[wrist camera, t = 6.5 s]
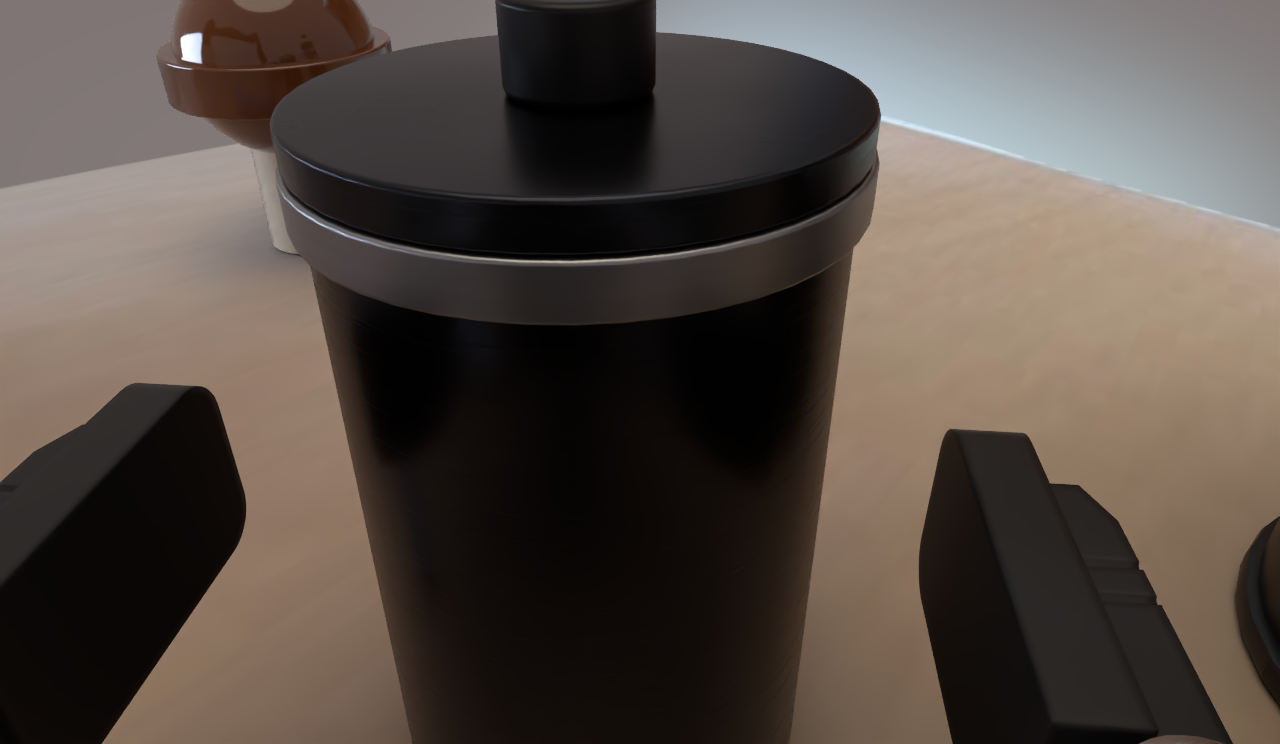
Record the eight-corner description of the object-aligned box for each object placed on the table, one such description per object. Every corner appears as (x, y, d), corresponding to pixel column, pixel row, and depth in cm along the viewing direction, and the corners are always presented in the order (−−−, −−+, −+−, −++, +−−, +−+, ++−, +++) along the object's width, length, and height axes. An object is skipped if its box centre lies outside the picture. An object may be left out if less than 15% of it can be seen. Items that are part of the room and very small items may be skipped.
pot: (341, 874, 12) (81, 57, 7) (463, 551, 18) (377, -55, 12) (813, 920, 12) (963, 76, 6) (791, 573, 17) (862, -51, 11)
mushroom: (170, 277, 28) (76, -34, 23) (265, 198, 34) (205, -64, 29) (378, 285, 27) (324, -31, 23) (440, 204, 33) (407, -63, 28)
